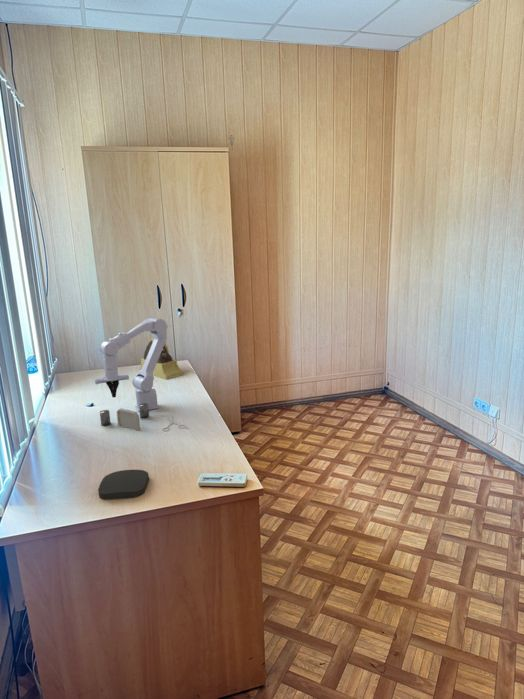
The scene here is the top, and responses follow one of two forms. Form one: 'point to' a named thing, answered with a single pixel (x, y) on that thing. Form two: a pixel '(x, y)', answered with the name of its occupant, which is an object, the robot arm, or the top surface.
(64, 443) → the top surface
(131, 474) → the media streaming box
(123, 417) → the light switch
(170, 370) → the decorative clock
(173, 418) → the scissors
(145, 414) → the post
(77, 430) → the top surface
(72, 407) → the top surface
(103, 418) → the post
